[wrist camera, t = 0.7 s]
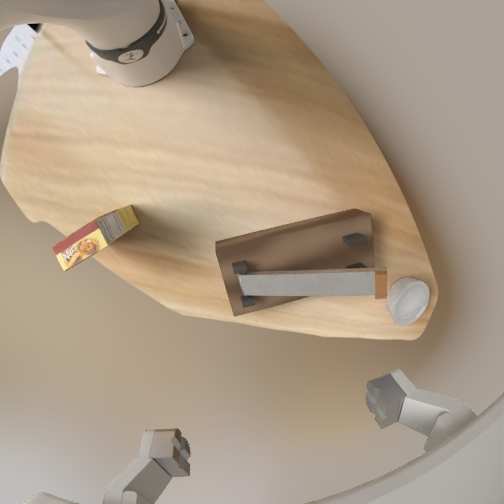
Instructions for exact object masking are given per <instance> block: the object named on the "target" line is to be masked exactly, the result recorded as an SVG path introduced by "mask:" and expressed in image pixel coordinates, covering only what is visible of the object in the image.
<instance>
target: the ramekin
mask: <svg viewBox="0 0 504 504" xmlns="http://www.w3.org/2000/svg"><path fill="white" fill-rule="evenodd" d="M429 295H430V293H429V288H428V286H427V284H426V283H425V282H423V281H421V280H416V279H414V278H410V277H405V278H402V279H400V280H398V281H397V282H395V283H394V284H393V285H392V287H391V288H390V290H389V292H388V294H387V298H386V306H387V309H388V311H389V313H390V314H391V316H392V318H393V320H394V321H395V322H396V323H397V324H399V325H402V326H404V325H409V324H411V323H413V322H414V321H416V320H417V319H418V318H419V317H420V316H421V315H422V313H423V312H424V310H425V309H426V307H427V304H428V301H429Z"/></svg>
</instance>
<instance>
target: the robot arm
mask: <svg viewBox="0 0 504 504" xmlns="http://www.w3.org/2000/svg"><path fill="white" fill-rule="evenodd" d="M30 23H49V24H57V25H62V26H66V27H68V28H70V29H72V30H73V31H75V32H76V33H77V34H79V35H80V36H81V37H83V38H84V39H85V41H86V43H87V45H88V46H89V48H90V49H91V51H92V53H91V57H92V59H93V60H94V61H95V62H96V63H97V66H96V71H97V72H98V74H100V75H103V76H109V77H111V78H113V79H114V80H115V81H116V82H118V83H120V84H122V85H125V86H130V87H139V86H145V85H148V84H151V83H154V82H156V81H158V80H160V79H161V78H163V77H164V76H166V75H167V74H168V73H169V72H170V71H171V70H172V69H173V68H174V67H175V66H176V64H177V63H178V61H179V59H180V57H181V55H182V54H183V52H184V51H185V50H187V49H188V48H189V47H190V46H191V45H192V44H193V43H194V41H195V39H194V36H193V34H192V32H191V30H190V29H189V27H188V25H187V23H186V21H185V19H184V17H183V15H182V14H181V12H180V10H179V8H178V6H177V4H176V3H175V1H174V0H0V30H3V29H6V28H9V27H12V26H16V25H21V24H30ZM184 35H187V36H185V37H184ZM367 389H368V392H367V393H366V403H367V406H368V408H369V410H370V412H372V413H375V414H376V416H375V420H376V421H377V423H378V425H379V426H380V428H381V429H383V428H385V427H387V426H389V425H392V424H394V423H396V422H398V423H400V424H403V425H405V426H407V427H409V428H411V429H413V430H415V431H417V432H420V433H422V434H424V435H426V436H428V439H427V442H426V443H425V446H424V449H425V451H426V453H424V454H423V455H421V456H419V457H418V458H416V459H414V460H413V461H411V462H409V463H407V464H405V465H404V466H401V467H399V468H397V469H395V470H394V471H391V472H389V473H387V474H385V475H383V476H381V477H379V478H376V479H374V480H372V481H370V482H367V483H365V484H362V485H360V486H357V487H355V488H352V489H349V490H347V491H344V492H341V493H338V494H335V495H332V496H329V497H326V498H323V499H320V500H316V501H312V502H309V503H306V504H504V393H503V394H502V395H501V396H500V397H499V398H498V399H497V400H496V401H495V402H494V403H492V404H491V405H490V406H489V407H488V408H487V409H486V410H484V411H483V412H482V413H481V414H480V415H479V416H476V414H475V413H474V412H473V411H472V410H471V409H470V408H469V407H468V406H467V405H466V403H465V402H464V401H463V400H460V399H456V398H452V397H449V396H445V395H441V394H437V393H433V392H430V391H427V390H423V389H418V390H417V389H416V387H415V386H414V385H413V384H412V383H411V382H410V380H409V379H408V378H407V377H406V376H405V375H404V374H403V372H402V371H401V370H400V369H396V370H394V371H391V372H389V373H387V374H385V375H382V376H380V377H378V378H375V379H373V380H371V381H368V383H367ZM189 457H190V447H189V444H188V441H187V440H186V439H185V438H184V437H182V436H181V431H180V430H179V429H157V430H145V431H144V433H143V438H142V443H141V448H140V453H139V458H135V459H134V460H133V461H132V462H131V463H130V464H129V465H128V466H127V467H126V468H125V469H124V470H123V471H122V472H121V473H120V474H119V475H118V476H117V477H116V478H115V479H114V480H113V481H112V482H111V483H110V484H109V485H108V486H107V487H106V490H105V494H104V499H103V504H154V503H155V502H156V500H157V499H158V497H159V496H160V495H161V493H162V492H163V490H164V489H165V488H166V486H167V485H168V483H169V482H170V480H171V479H172V477H184V476H190V464H189V463H188V461H187V460H188V459H189ZM23 504H79V503H75V502H72V501H69V500H66V499H62V498H59V497H56V496H53V495H51V494H48V493H44V492H40V493H38V494H36V495H34V496H33V497H31V498H30V499H28V500H27V501H25V502H24V503H23Z"/></svg>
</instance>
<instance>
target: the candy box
mask: <svg viewBox="0 0 504 504" xmlns="http://www.w3.org/2000/svg"><path fill="white" fill-rule="evenodd" d="M138 224H139V222H138V220H137V218H136V216H135V214H134V212H133V209H132V207H131V205H128V206H125V207H123V208H120V209H117V210H115V211H112V212H110V213H108V214H105V215H103V216H100V217H98V218H96V219H94V220H92V221H91V222H89V223H87V224H86V225H84V226H83V227H81V228H80V229H78V230H77V231H75V232H74V233H72V234H71V235H69V236H68V237H66V238H65V239H63V240H62V241H61V242H59V243H58V244H56V245H55V246H53V250H54V252H55V254H56V256H57V258H58V260H59V262H60V264H61V266H62V268H63V269H64V271H66V270H68V269H70V268H72V267H73V266H75V265H77V264H78V263H80V262H82V261H83V260H85V259H87V258H88V257H90V256H92V255H94V254H95V253H97V252H99V251H100V250H102V249H104V248H106V247H107V246H109V245H110V244H111V243H112V242H114V241H115V240H116V239H118V238H119V237H121V236H122V235H123V234H125V233H126V232H128V231H129V230H131V229H132V228H134V227H135V226H136V225H138Z"/></svg>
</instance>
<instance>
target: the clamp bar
mask: <svg viewBox="0 0 504 504" xmlns="http://www.w3.org/2000/svg"><path fill="white" fill-rule="evenodd" d="M237 275H238V279H239V283H240V287H241V291H242V294H243V297H247V296H249V295H255V296H355V295H375V299H383V298H387V269H386V267H375V268H352V269H327V270H297V271H259V272H243V273H239V274H237Z"/></svg>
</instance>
